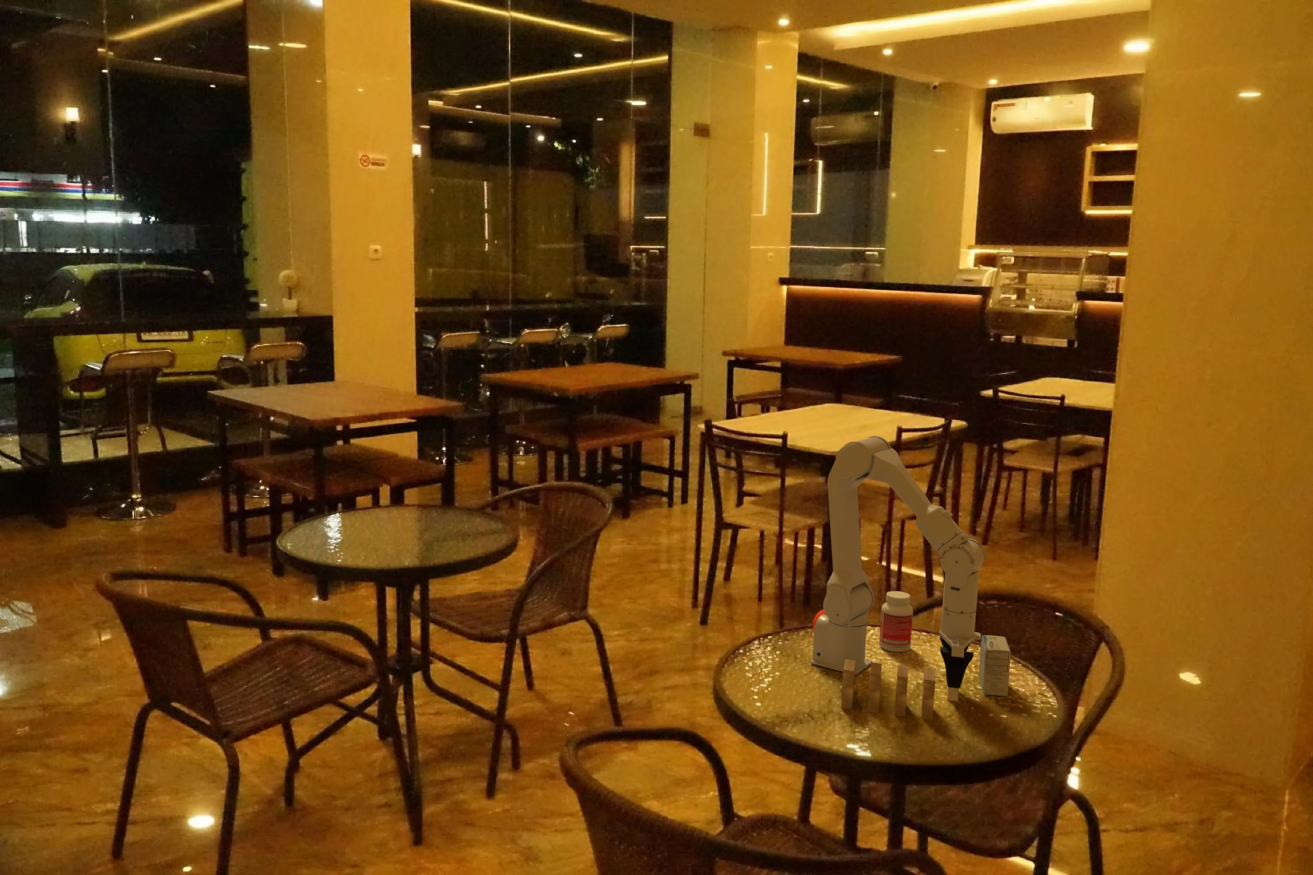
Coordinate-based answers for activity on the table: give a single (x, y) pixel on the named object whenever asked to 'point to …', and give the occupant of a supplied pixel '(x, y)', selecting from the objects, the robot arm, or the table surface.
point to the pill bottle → (896, 622)
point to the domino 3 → (901, 691)
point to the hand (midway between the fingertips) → (953, 681)
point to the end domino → (952, 694)
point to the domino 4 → (928, 694)
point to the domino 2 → (874, 687)
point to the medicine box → (994, 665)
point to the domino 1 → (848, 684)
